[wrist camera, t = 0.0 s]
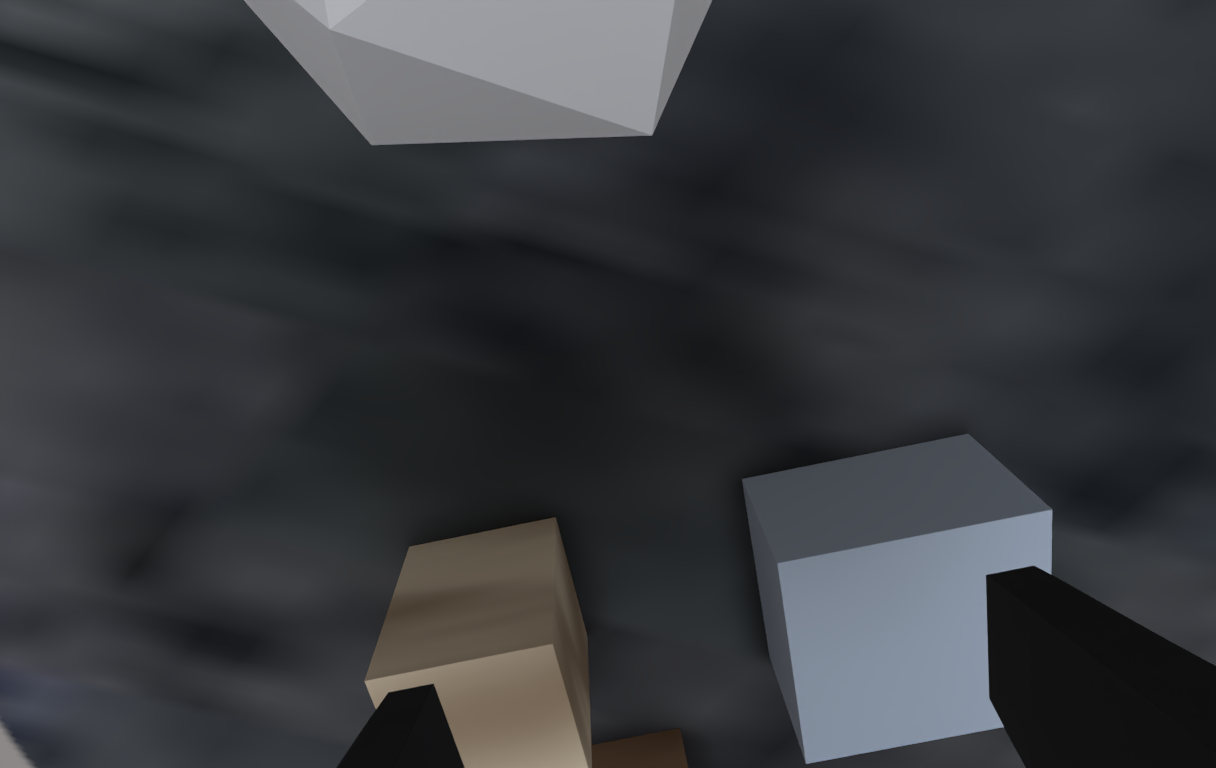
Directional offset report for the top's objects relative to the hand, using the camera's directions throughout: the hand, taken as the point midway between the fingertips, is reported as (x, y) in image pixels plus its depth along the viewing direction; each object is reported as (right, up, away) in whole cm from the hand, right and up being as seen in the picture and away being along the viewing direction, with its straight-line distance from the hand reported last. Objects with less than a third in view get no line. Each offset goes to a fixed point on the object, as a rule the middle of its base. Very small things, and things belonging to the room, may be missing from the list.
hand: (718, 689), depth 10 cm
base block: (+6, -1, +12) cm, 13 cm away
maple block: (-4, -2, +11) cm, 12 cm away
